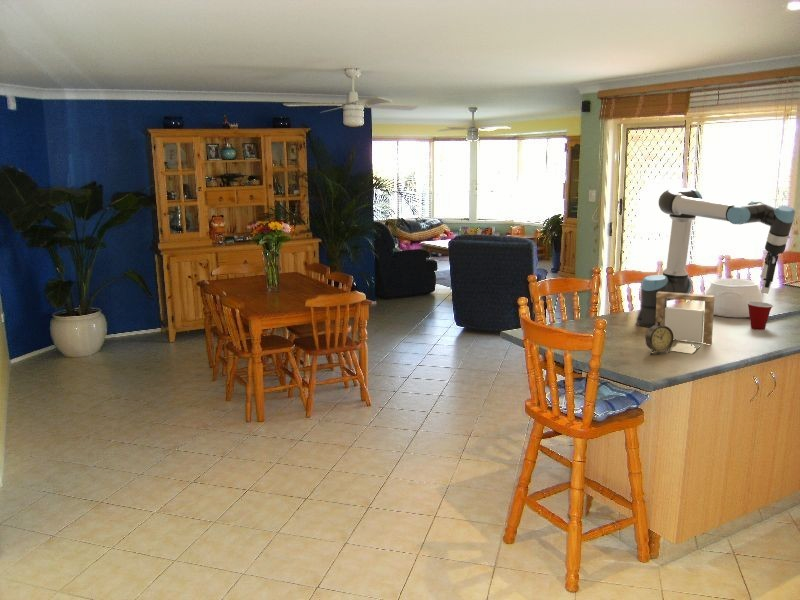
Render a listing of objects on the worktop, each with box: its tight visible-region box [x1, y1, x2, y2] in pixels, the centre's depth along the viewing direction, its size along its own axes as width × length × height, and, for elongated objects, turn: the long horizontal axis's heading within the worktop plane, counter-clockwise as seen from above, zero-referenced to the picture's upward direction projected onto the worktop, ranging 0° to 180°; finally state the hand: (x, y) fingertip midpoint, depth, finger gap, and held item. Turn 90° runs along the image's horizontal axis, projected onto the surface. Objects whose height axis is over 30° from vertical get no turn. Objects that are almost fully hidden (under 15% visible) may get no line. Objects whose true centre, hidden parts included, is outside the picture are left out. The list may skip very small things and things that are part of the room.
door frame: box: [656, 291, 715, 345], centre depth 298 cm, size 23×4×21 cm, turn 54°
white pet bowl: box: [705, 278, 764, 319], centre depth 347 cm, size 29×26×16 cm
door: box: [665, 306, 705, 344], centre depth 299 cm, size 15×2×14 cm, turn 55°
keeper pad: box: [689, 342, 702, 349], centre depth 288 cm, size 9×14×1 cm, turn 144°
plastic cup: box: [747, 301, 774, 331], centre depth 316 cm, size 11×11×12 cm
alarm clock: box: [644, 315, 674, 353], centre depth 282 cm, size 11×5×16 cm, turn 105°
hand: (764, 285), depth 301 cm, fingers open, 13 cm apart
